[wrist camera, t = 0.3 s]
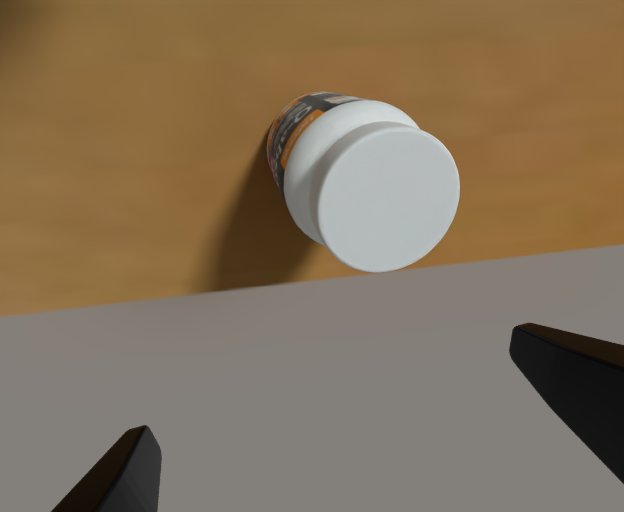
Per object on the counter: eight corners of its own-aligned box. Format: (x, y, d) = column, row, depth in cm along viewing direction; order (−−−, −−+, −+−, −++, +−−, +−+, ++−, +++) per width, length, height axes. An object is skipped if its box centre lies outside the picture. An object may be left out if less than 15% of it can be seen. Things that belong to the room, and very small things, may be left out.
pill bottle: (264, 88, 18) (300, 100, 9) (374, 93, 19) (498, 107, 10) (266, 200, 20) (295, 293, 12) (363, 198, 22) (455, 281, 13)
